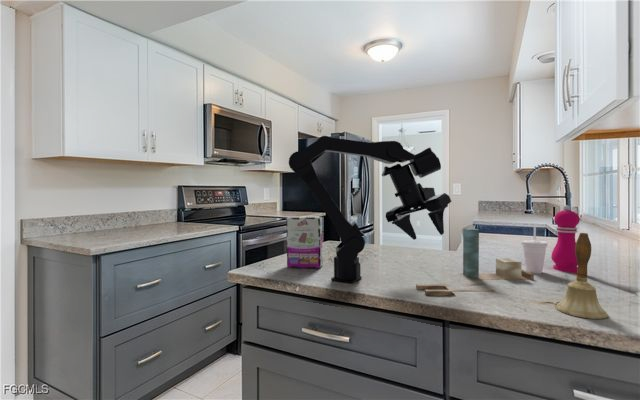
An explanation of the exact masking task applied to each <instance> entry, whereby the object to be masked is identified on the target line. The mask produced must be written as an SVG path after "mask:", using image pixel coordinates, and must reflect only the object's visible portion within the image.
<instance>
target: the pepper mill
mask: <svg viewBox="0 0 640 400" xmlns="http://www.w3.org/2000/svg"><path fill="white" fill-rule="evenodd" d="M562 209H563V210H559V211H558V212H556V213H555V215H554V217H553V218H554V219H553V220H554V223H555V224H556V225H557V226H555V227H556V230H555V231H556V232H557V240H556V243H555V246H554V248H553V250H552V251H551V257H550V258H551V260H552V261H553V263H554V264H553V265H552V268H553V270H556V271H559V272H560V271H561V272H565V273H566V272H568V273H571V274H575V275H577V268H578V262H577V258H576V255H575V245H576V242H577V241H576V233H578V227H577V226H578V224H580V216H579V214H578V213H577V212H575V211H573V210H571V206H570V205H569V204H566V205H564V206H563V207H562Z"/></svg>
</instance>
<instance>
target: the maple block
mask: <svg viewBox="0 0 640 400" xmlns="http://www.w3.org/2000/svg"><path fill="white" fill-rule="evenodd" d="M521 269H522V261H520V260H518V259H516V258H507V257H505V258H502V257H501V258H495V274H496V275H498V276H500V277H502V278H504V279H521Z"/></svg>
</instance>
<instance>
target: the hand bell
mask: <svg viewBox="0 0 640 400" xmlns="http://www.w3.org/2000/svg"><path fill="white" fill-rule="evenodd" d="M575 242H576V245H575V255H576V258H577V262H578V265H577V267H578V268H577V274H576V277H575V281H572V282H569V283H567V289H566V292H565V295H564V297H563V299H562V300H561V301H560V302H558V303H557V304H556V305H555V307H556V310H558V311H559V312H561V313H564V314H566V315H570V316H573V317H578V318H583V319H589V320H591V319H592V320H603V319H607V318H608V317H609V314H608V313H607V311H606V310H605V309H603V307H602V306H601V304H600V302H599V299H598V295H597V289H596V287H595V286H594V285H593V284H591V283H590V282H588V265H589V261H590V259H591V255H592V243H591V241H590V238H589V233H587V232H579V235H578V238H577V239H576V241H575Z"/></svg>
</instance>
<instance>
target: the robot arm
mask: <svg viewBox="0 0 640 400" xmlns="http://www.w3.org/2000/svg"><path fill="white" fill-rule="evenodd" d="M327 152H328V153H336V154H343V155H351V156H358V157H366V158H368V159H373V160H374V161H377V162H380V163H382V164H387V165H390V164H391V165H392V166H383V171H382V173H381V176H382V177H385V176H388V175H389V177H390V180H391V181H392V183H393V186H394V188H395V190H396V193H394V196H395V198H397V197H399V200H400V202H401V204H402V205H399V206H396V207H393V208H392V209H390V210H388V211H387V212H386V213H385V218H386V221H387V223H391V224H392V225H395V226H396V227H398V228H399V229H400V230H402V231H403V232H404V233H405V234H407V235H408V237H409V238H411V239H413V240H414V241H415V240H417V235H416V232H415V229H414V227H413V225H412V222H411V214H412V213H417V212H420V211H424V210H427V211H428V213H427V216H428V217H429V219H430V221H431V223H432V224H433V225H434V227H435V229H436V230H437V232H438V233H439V235H440V236H442V235H444V234H445V231H444V226H445V225H444V213H445V210H446V208H448V206H449V204H450V203H452V199H451V196H450V195H449V194H448V193H445V192H444V193H440V194H436V192H435V188H434V187H423V185H422V184H421V183H420V182H418V183H417V181H416V179H415V177H419V178H420V179H423V178H424V177H426V176H429V175H431V174H433V173H434V174H435V172H437V171H440V170H441V169H442V165H441V161H440V159H439V157H438V156H437V155H436V153H435V152H434V151H432V148H431V147H427V148H425V149H423V150H422V151H420V152H418V153H416V154H414V153H412V152H410V151H408V150H406V149H404V146H403V144H402V143H401V142H399V141H396V140H384V141H382V140H381V141H374V142H373V141H372V142H371V141H370V142H369V141H363V140H361V141H360V140H354V139H353V140H352V139H345V138H338V137H331V136H327V135H321V136H320V137H319V138H318V139H316V141H314V142H313V143H311V144H309V145H308V146H307V147H305V148H304V149H303V150H301V151H300V150H299V151H294V152H293V153H291V154H290V156H289V158H288V165H289V168H290V169H291V170H292V171H293V172H294V173H295V174H296V175H297V177H299V179H300V180H301V181H302V182H303V183H304V184H305V185H306V186H308V188H309V189H310V191H311V192H312V194H313V195H314V197H315V199H316V201H317V202H318V204H319V205H320V206H321V208H322V209H323V210H324V211H325V213H326V216H327V217H329V219H330V221H331V222H332V224H333V225H334V228H335V229H336V231H337V234H338V236H339V239H340V240H341V242H340V243H339V244H337V246H336V247H335V254H336V256H334V257H333V276H332V277H331V278H330V279H331V281H333V282H334V281H335V282H341V283H349V284H353V283H355V282H357V281H359V280H361V279H362V278H363V277H362V276H361V263H360V257H359V256H358V255H359V253H361V252H363V250H364V248H365V246H366V241H365V238H364V237H365V234H364V232H363V231H361V230H360V228H359V225H358V224H357V222H356V221H355V220H354V221H353V222H352V223H351V222H350V221H348V220H347V218H346V217H345V216H344V214H343V213H342V211H341V209H340V208H339V207H338V205H337V203H336V202H335V200H333V198H332V196H331V194H329V192H328V190H327V189H326V188H325V186H324V184H323V183H322V181H321V180H320V178H319V176H318V174H317V172H316V169H315V167H314V165H313V163H314V162H316V161H318V159H320V157H322V156H323V155H324V154H326V153H327ZM408 161H409V162H408ZM406 162H408V163H406ZM395 163H396V164H395ZM401 163H402V164H403V163H406V164H404V165H402V164H401ZM393 164H395V165H393ZM414 176H415V177H414Z"/></svg>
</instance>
